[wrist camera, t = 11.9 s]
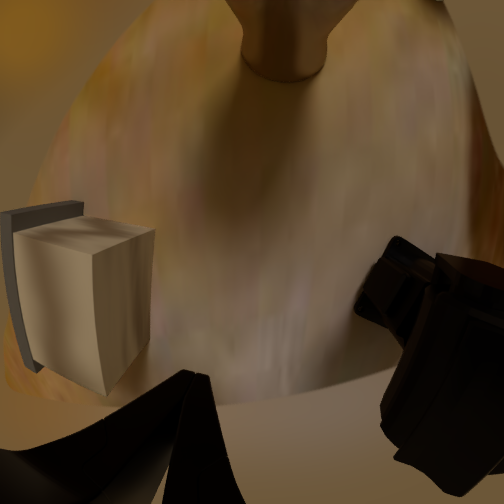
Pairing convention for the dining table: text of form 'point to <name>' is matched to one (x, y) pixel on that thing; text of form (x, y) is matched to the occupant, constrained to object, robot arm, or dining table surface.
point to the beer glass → (287, 35)
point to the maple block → (85, 296)
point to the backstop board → (9, 225)
